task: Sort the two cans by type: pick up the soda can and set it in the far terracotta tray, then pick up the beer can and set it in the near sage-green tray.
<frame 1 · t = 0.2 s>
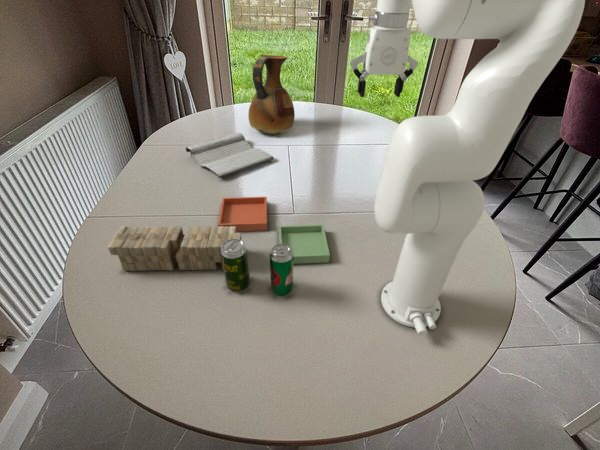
hand: (378, 95, 89), 31 cm above the table, tool pointing down, fingers open, 9 cm apart
ceramic pitcher: (272, 129, 148), on the table
terracotta tray: (244, 216, 97), on the table
mat: (230, 160, 125), on the table
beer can: (238, 285, 77), on the table
block tower: (184, 260, 83), on the table
green tray: (302, 247, 87), on the table
soda can: (282, 289, 76), on the table
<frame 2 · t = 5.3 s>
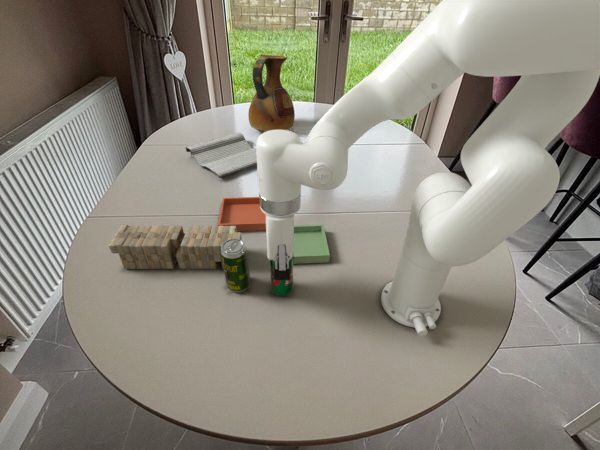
hand: (281, 268, 72), 7 cm above the table, tool pointing down, fingers closed on soda can, 5 cm apart
soda can: (282, 289, 76), on the table, touching gripper
everything else where it was.
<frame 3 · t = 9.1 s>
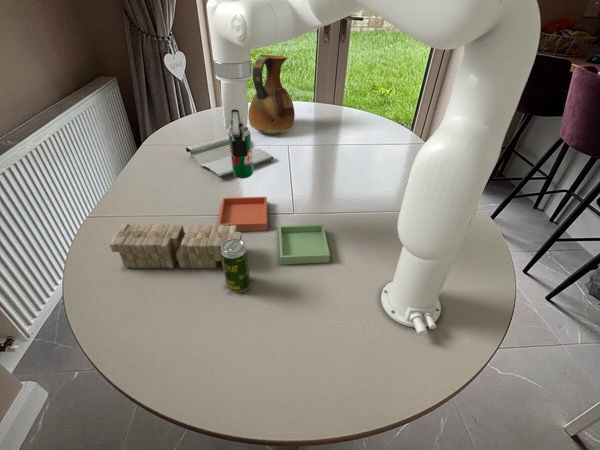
hand: (241, 149, 80), 23 cm above the table, tool pointing down, fingers closed on soda can, 5 cm apart
soda can: (243, 175, 84), point 16 cm above the table, touching gripper
everything else where it was.
when the fingers open (7 cm above the table, at t = 13.3 s): soda can stays where it is, resting on terracotta tray.
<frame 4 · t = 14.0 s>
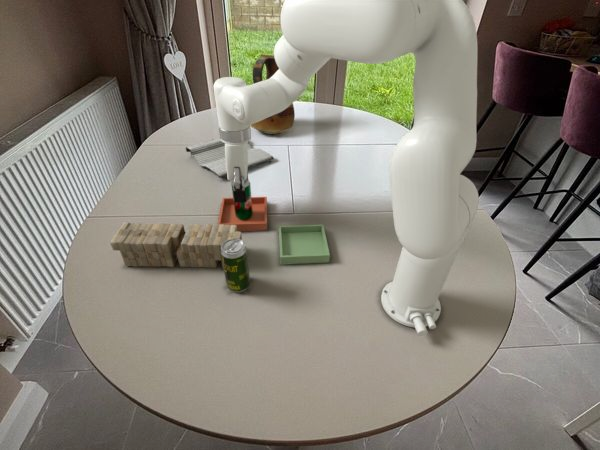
hand: (241, 191, 92), 9 cm above the table, tool pointing down, fingers open, 9 cm apart
soda can: (244, 216, 97), resting on terracotta tray
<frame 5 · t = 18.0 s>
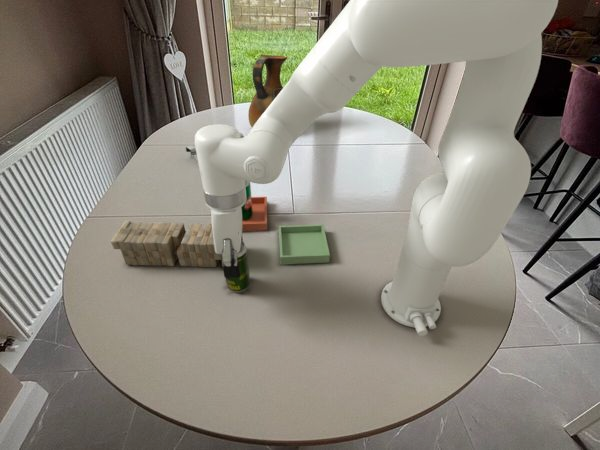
hand: (234, 260, 72), 8 cm above the table, tool pointing down, fingers open, 9 cm apart
block tower: (185, 256, 84), on the table, touching gripper
everything else where it was.
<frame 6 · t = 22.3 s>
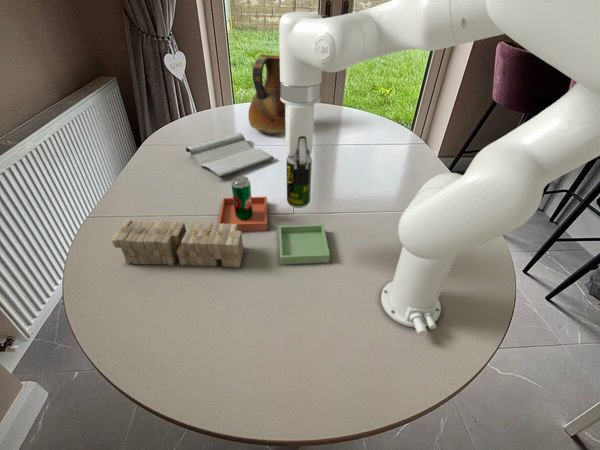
hand: (299, 176, 73), 22 cm above the table, tool pointing down, fingers closed on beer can, 5 cm apart
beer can: (298, 202, 77), point 15 cm above the table, touching gripper
block tower: (186, 255, 84), on the table
everything else where it was.
when the fingers open (7 cm above the table, at t = 26.1 s): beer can stays where it is, resting on green tray.
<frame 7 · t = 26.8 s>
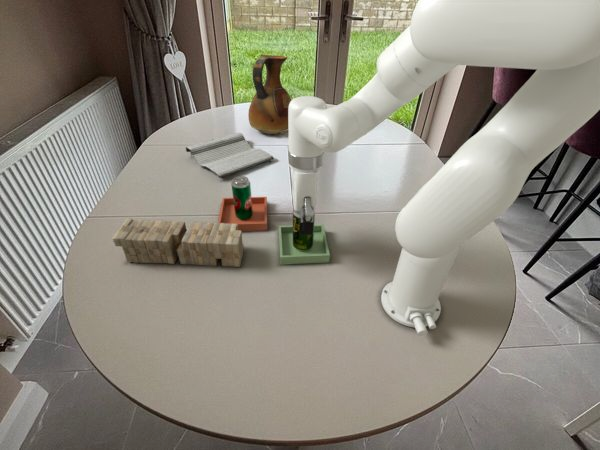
hand: (304, 220, 82), 9 cm above the table, tool pointing down, fingers open, 9 cm apart
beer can: (302, 246, 87), resting on green tray
everything else where it was.
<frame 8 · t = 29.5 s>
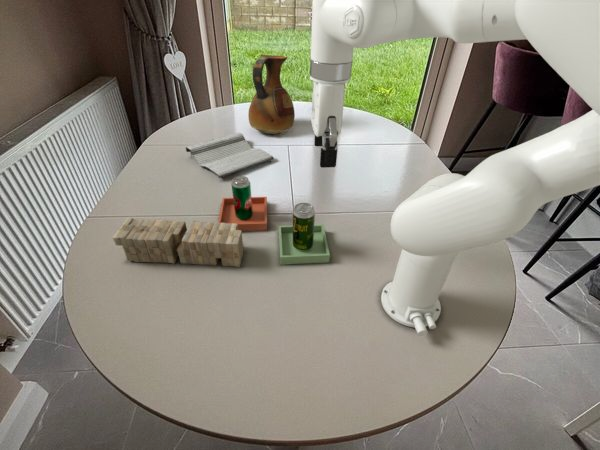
hand: (324, 155, 71), 26 cm above the table, tool pointing down, fingers open, 9 cm apart
nothing on the table moved.
at the end: soda can inside the target area in the terracotta tray (0.1 cm from its centre), point 0.3 cm above the terracotta tray's base; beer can inside the target area in the green tray (0.0 cm from its centre), point 0.3 cm above the green tray's base; soda can tilted 0° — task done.
